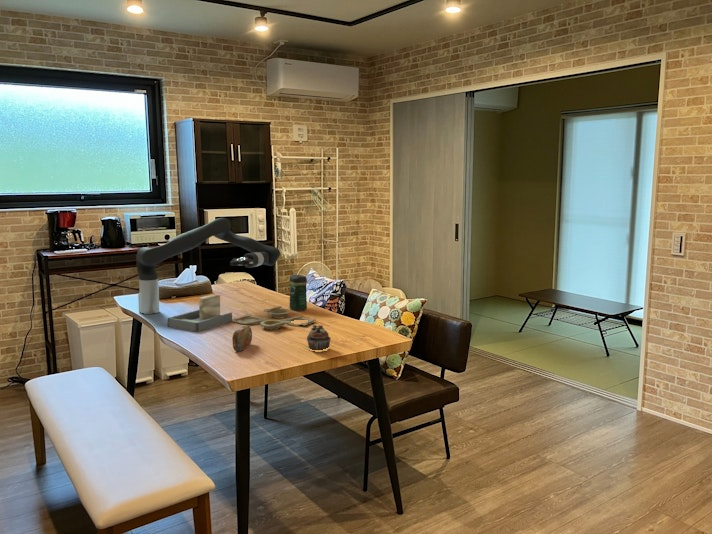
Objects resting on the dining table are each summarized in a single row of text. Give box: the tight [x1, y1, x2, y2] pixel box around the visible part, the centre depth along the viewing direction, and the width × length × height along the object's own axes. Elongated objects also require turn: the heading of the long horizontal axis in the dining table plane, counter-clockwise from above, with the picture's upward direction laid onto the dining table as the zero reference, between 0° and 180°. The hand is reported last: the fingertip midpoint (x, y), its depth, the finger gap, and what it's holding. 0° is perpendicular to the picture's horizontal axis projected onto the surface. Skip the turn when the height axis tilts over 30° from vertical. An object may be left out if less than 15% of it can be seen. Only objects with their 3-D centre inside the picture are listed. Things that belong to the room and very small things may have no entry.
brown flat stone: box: [232, 325, 253, 352], centre depth 234 cm, size 15×3×8 cm, turn 168°
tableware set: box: [233, 305, 317, 331], centre depth 278 cm, size 35×29×4 cm
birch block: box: [198, 294, 221, 319], centre depth 277 cm, size 4×10×10 cm, turn 152°
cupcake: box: [306, 324, 332, 350], centre depth 233 cm, size 10×10×10 cm
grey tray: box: [167, 309, 233, 333], centre depth 272 cm, size 18×24×4 cm
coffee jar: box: [288, 274, 308, 312], centre depth 305 cm, size 10×8×19 cm
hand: (231, 263), depth 289 cm, fingers closed
